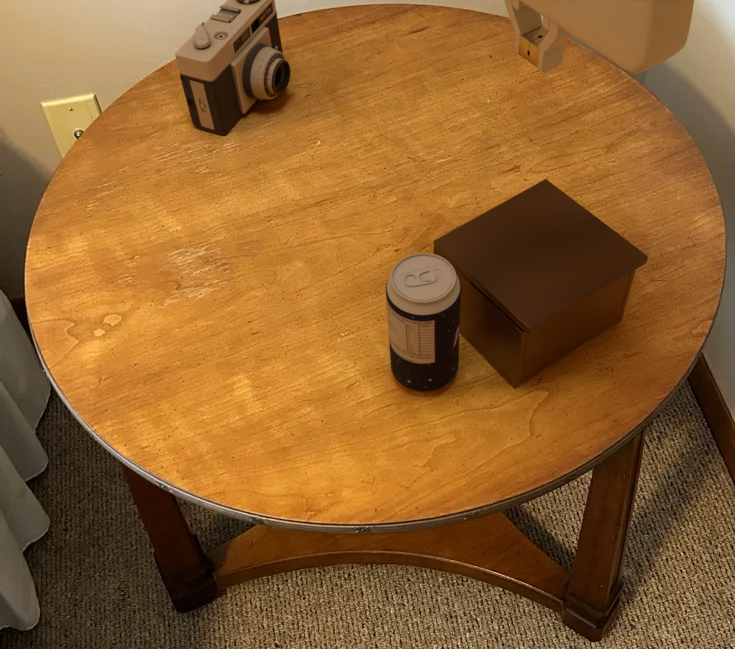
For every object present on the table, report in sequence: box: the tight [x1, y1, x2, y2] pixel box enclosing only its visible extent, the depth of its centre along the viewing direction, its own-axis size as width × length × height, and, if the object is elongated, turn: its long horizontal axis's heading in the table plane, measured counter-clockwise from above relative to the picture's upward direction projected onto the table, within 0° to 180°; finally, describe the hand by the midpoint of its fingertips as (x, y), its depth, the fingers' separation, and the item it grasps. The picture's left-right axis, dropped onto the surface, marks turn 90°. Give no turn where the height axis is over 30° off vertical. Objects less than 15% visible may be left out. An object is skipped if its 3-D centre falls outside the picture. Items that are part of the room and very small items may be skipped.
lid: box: [433, 178, 649, 336], centre depth 70 cm, size 12×12×1 cm
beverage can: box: [385, 252, 461, 393], centre depth 69 cm, size 6×6×12 cm
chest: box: [433, 247, 636, 389], centre depth 74 cm, size 11×12×8 cm
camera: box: [174, 0, 291, 137], centre depth 94 cm, size 14×8×10 cm, turn 154°
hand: (537, 59), depth 58 cm, fingers closed
